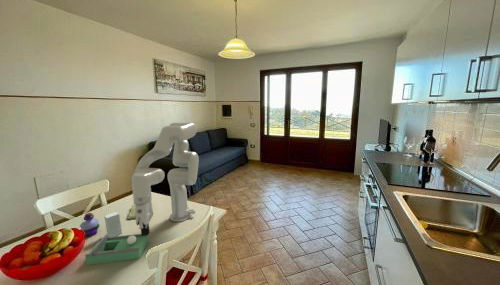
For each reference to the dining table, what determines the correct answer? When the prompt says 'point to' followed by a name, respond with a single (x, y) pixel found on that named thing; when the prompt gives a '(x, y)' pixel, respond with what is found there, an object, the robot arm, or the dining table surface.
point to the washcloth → (132, 213)
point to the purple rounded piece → (90, 225)
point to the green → (116, 249)
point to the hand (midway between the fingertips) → (145, 234)
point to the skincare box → (113, 224)
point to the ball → (131, 240)
